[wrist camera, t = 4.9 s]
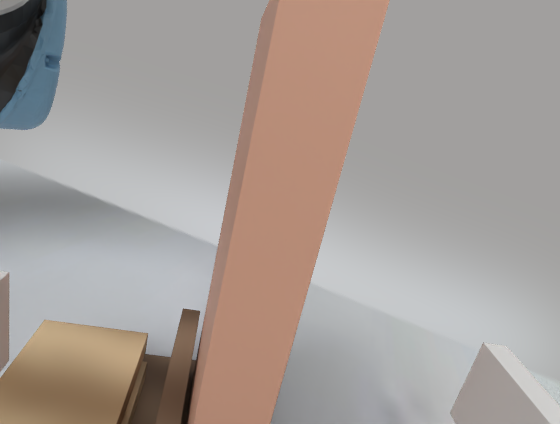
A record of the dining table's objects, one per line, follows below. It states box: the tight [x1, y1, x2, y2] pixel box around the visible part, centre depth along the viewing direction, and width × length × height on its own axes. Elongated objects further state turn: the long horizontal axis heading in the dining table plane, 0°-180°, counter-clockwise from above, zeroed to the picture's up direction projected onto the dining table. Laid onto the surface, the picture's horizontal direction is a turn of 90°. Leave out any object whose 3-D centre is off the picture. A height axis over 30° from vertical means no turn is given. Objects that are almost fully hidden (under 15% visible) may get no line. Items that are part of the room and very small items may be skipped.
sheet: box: [186, 0, 389, 424], centre depth 16 cm, size 12×2×20 cm, turn 5°
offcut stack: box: [0, 320, 148, 424], centre depth 18 cm, size 10×6×4 cm, turn 5°
